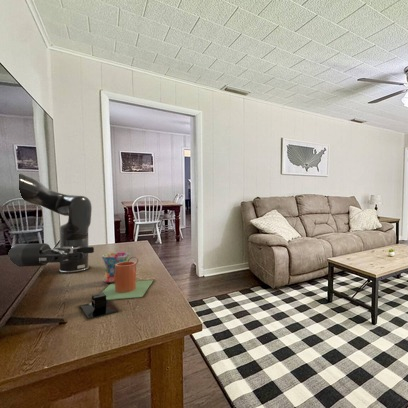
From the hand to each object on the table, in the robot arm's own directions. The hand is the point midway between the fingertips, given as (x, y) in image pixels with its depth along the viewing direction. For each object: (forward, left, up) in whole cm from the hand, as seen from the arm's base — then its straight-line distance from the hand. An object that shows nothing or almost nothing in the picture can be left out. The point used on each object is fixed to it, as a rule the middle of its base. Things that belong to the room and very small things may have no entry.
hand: (88, 252), depth 100 cm
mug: (-12, +6, -15) cm, 20 cm away
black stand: (+16, +8, -15) cm, 23 cm away
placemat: (0, +11, -15) cm, 18 cm away
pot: (0, +11, -15) cm, 18 cm away
